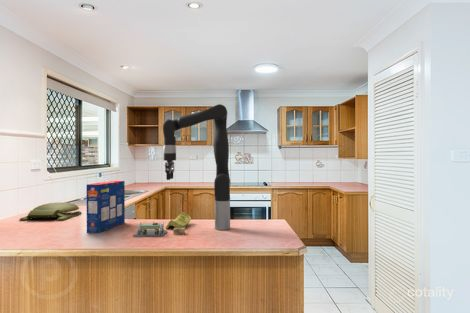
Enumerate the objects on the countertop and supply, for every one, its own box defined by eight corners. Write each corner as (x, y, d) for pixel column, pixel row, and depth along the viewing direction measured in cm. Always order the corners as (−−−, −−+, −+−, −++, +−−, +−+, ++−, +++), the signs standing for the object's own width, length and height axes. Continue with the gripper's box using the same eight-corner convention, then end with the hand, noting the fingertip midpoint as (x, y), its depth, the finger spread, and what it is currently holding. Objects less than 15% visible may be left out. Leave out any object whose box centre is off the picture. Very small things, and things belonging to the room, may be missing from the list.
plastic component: (183, 226, 195) (169, 218, 196) (178, 236, 196) (164, 229, 197) (193, 217, 214) (179, 210, 215) (188, 227, 215) (175, 220, 216)
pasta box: (113, 222, 216) (113, 180, 216) (124, 223, 215) (124, 180, 215) (86, 232, 189) (86, 184, 189) (99, 233, 187) (98, 184, 187)
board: (160, 226, 187) (160, 222, 187) (158, 229, 181) (158, 224, 181) (143, 226, 187) (143, 222, 187) (140, 229, 181) (140, 224, 181)
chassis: (167, 231, 190) (167, 221, 190) (162, 236, 178) (162, 225, 178) (139, 231, 191) (139, 221, 191) (133, 236, 179) (133, 225, 179)
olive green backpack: (62, 221, 221) (62, 207, 221) (17, 221, 221) (17, 207, 221) (86, 212, 256) (86, 200, 256) (47, 212, 256) (47, 200, 256)
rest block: (185, 233, 187) (185, 227, 187) (183, 234, 183) (183, 229, 183) (174, 233, 187) (174, 227, 187) (173, 234, 184) (173, 229, 184)
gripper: (173, 152, 191) (173, 180, 191) (178, 152, 205) (178, 178, 205) (160, 152, 191) (161, 180, 191) (166, 152, 205) (166, 178, 205)
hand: (169, 179), depth 198 cm, fingers open, 8 cm apart
